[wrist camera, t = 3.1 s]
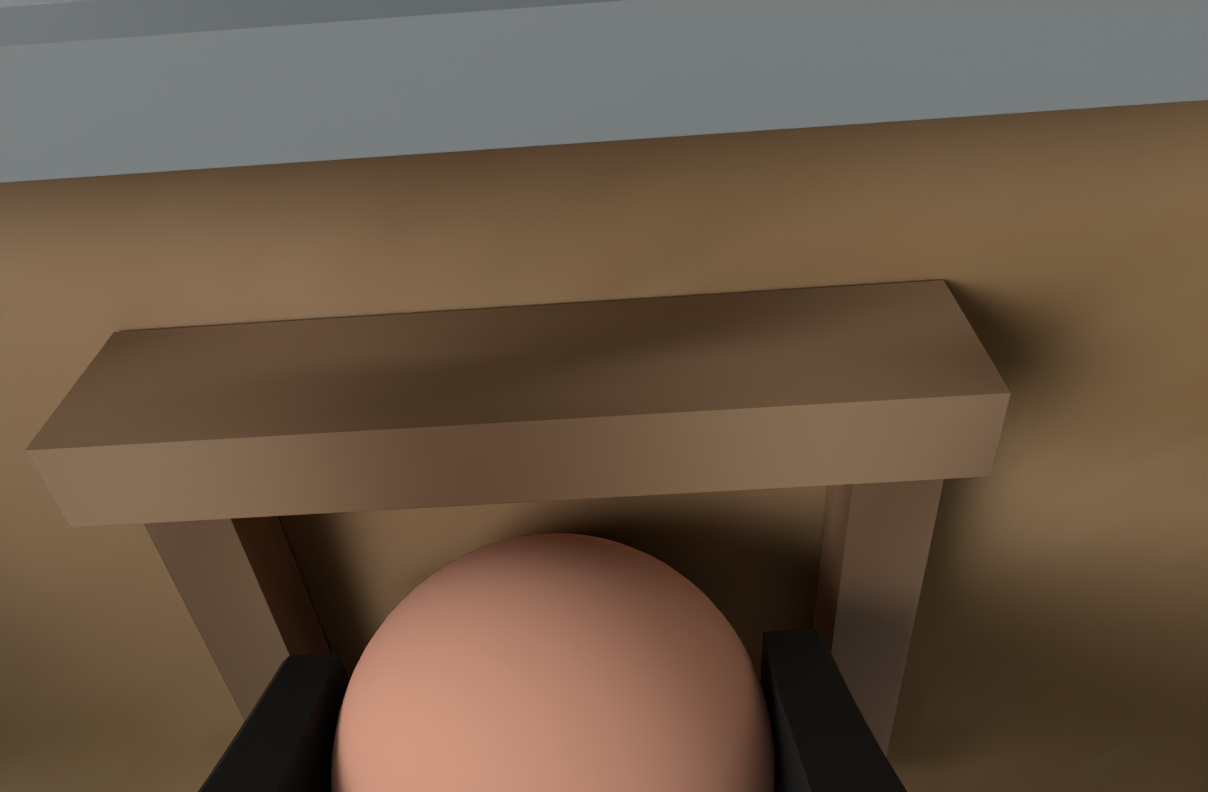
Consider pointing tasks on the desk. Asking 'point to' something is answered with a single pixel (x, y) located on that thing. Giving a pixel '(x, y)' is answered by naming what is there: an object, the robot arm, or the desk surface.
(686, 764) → the ball
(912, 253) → the desk surface
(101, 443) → the frame
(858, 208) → the desk surface
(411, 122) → the tray
